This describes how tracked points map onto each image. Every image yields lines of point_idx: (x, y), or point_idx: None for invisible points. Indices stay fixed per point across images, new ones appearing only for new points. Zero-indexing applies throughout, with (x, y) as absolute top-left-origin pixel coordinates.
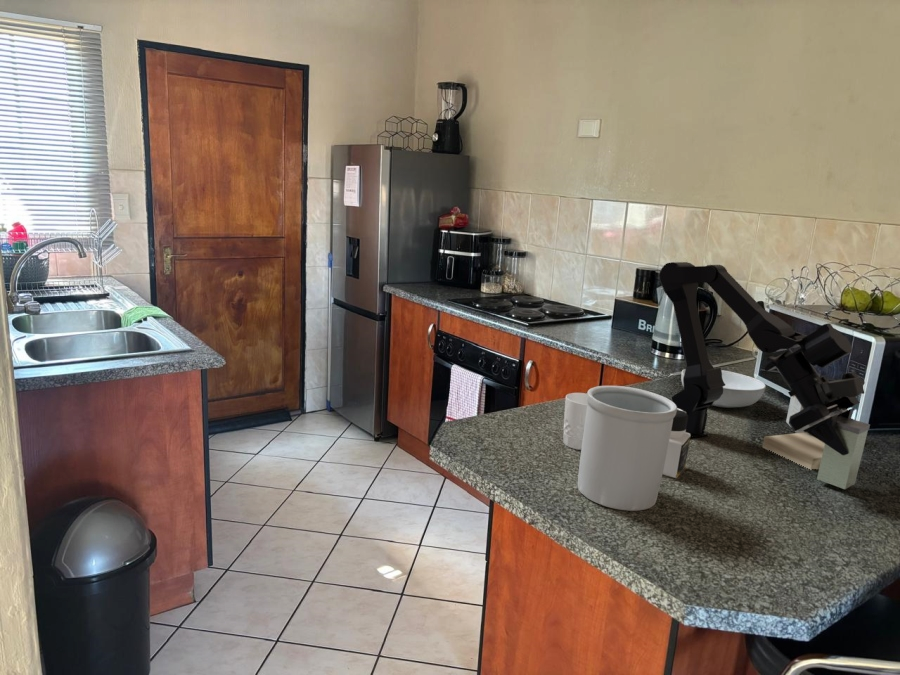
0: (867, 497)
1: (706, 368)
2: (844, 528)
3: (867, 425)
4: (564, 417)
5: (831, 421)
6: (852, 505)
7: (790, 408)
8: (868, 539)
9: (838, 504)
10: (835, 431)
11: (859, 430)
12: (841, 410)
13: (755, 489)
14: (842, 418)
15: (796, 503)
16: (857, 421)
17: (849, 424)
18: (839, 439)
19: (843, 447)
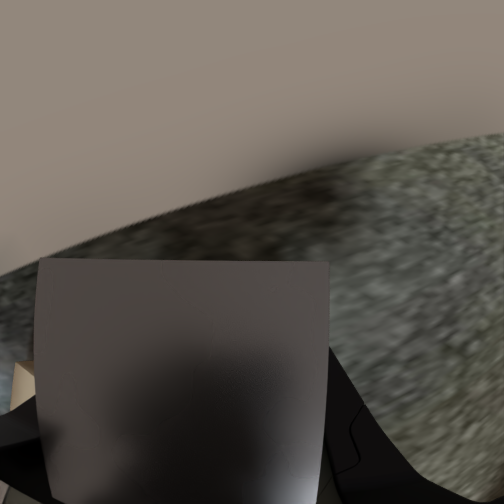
0: (244, 253)
1: None
2: (498, 221)
3: (84, 261)
4: None
5: (464, 500)
6: (358, 258)
7: None
8: (492, 174)
9: (391, 286)
10: (382, 441)
11: (325, 265)
12: (4, 500)
13: (480, 446)
14: (103, 488)
15: (482, 352)
16: (50, 365)
17: (247, 406)
18: (355, 391)
19: (330, 352)
